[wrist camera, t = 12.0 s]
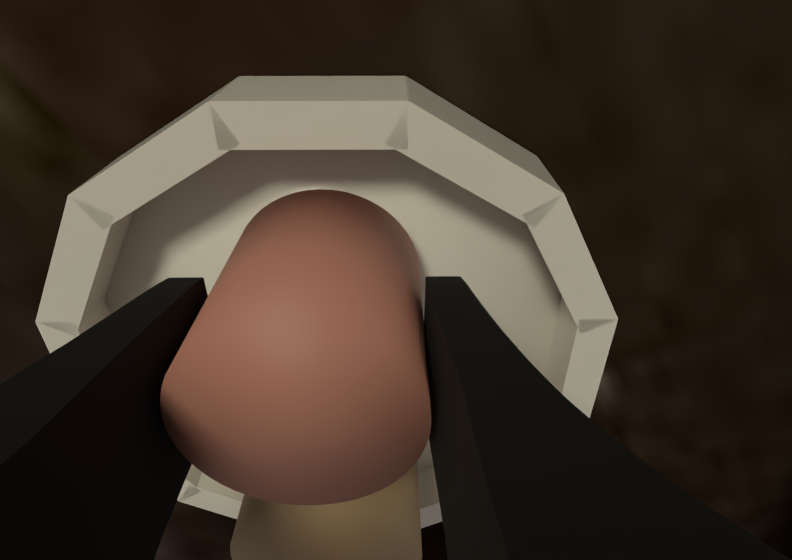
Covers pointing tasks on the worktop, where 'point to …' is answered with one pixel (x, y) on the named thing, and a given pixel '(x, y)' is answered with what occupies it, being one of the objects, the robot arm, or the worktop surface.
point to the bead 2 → (333, 527)
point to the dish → (349, 172)
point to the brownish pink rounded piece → (307, 357)
